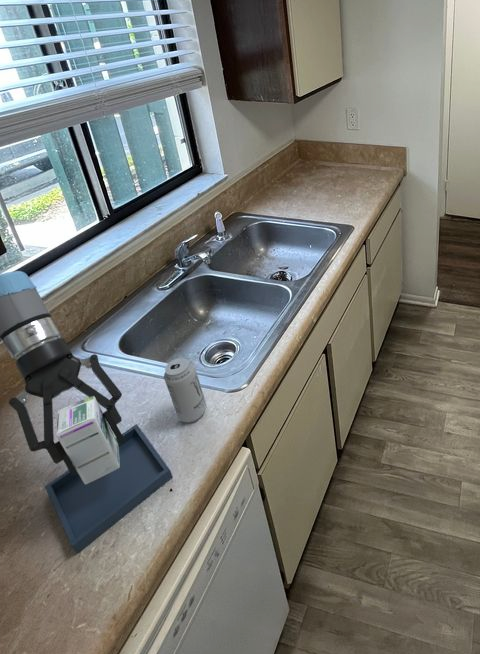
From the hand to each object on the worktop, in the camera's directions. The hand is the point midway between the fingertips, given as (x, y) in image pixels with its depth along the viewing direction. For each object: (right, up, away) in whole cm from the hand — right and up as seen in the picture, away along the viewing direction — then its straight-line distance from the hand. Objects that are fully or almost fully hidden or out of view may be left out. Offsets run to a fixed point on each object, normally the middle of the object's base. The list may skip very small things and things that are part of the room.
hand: (99, 458), depth 79 cm
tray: (-3, -10, +7) cm, 13 cm away
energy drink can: (+7, -3, +21) cm, 23 cm away
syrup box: (-3, -4, +4) cm, 7 cm away
